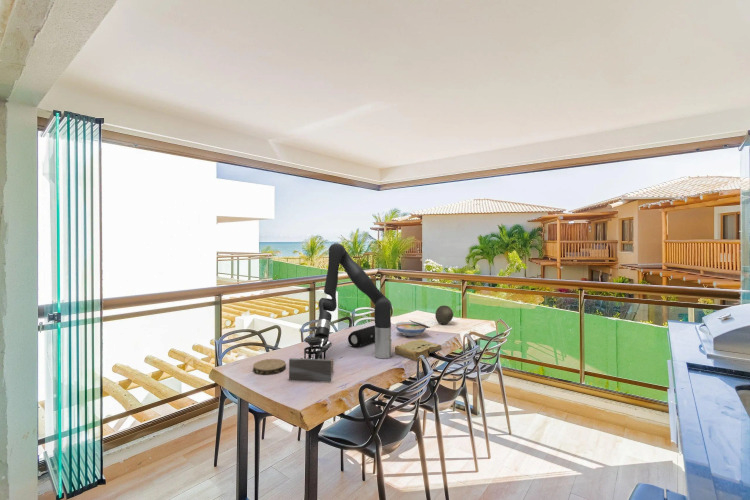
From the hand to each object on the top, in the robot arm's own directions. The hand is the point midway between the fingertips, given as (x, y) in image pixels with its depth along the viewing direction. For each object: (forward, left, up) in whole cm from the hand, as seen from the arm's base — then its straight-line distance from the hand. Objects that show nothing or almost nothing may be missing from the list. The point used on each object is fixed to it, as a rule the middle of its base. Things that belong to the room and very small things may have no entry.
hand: (317, 358), depth 184 cm
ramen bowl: (-37, -80, -6) cm, 88 cm away
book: (-47, -41, -6) cm, 63 cm away
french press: (0, +4, -5) cm, 7 cm away
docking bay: (-1, +8, -5) cm, 10 cm away
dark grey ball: (-58, -122, -6) cm, 135 cm away
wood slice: (+23, +7, -6) cm, 25 cm away
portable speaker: (-11, -52, -6) cm, 54 cm away
